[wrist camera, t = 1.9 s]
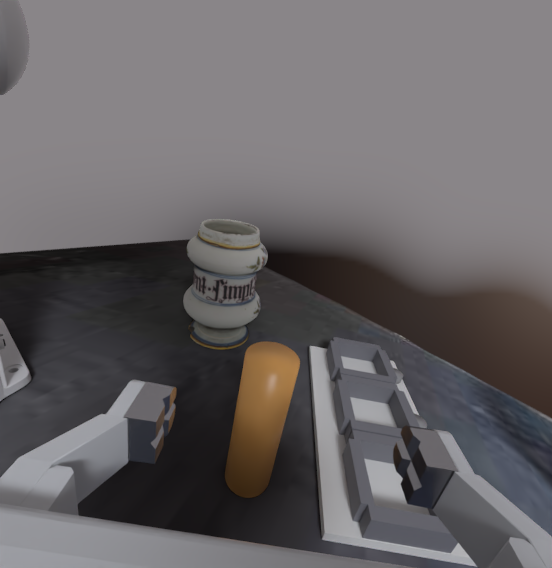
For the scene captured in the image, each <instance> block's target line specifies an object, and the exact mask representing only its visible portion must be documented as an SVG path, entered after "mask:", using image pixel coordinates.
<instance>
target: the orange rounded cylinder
mask: <svg viewBox="0 0 552 568" xmlns="http://www.w3.org/2000/svg"><path fill="white" fill-rule="evenodd" d="M299 366H300V360H299V357H298V356H297V354H296V353H295V352H294V351H293V350H291V349H290V348H288V347H287V346H285V345H282V344H279V343H275V342H258V343H255V344H253V345H251V346H250V347H249V348H248V349H247V350H246V353H245V358H244V364H243V370H242V376H241V382H240V387H239V393H238V399H237V405H236V411H235V417H234V422H233V428H232V434H231V440H230V446H229V452H228V457H227V463H226V469H225V480H226V483H227V485H228V487H229V489H230V490H231V491H232V492H233V493H235V494H236V495H238V496H241V497H245V498H252V497H256V496H258V495H260V494H261V493H263V492H264V491H265V489H266V488H267V486H268V484H269V481H270V477H271V473H272V469H273V466H274V462H275V458H276V454H277V450H278V447H279V443H280V439H281V435H282V431H283V427H284V424H285V420H286V416H287V412H288V408H289V405H290V401H291V397H292V393H293V389H294V385H295V382H296V378H297V374H298V370H299Z"/></svg>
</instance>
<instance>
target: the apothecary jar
mask: <svg viewBox="0 0 552 568" xmlns="http://www.w3.org/2000/svg"><path fill="white" fill-rule="evenodd" d="M259 235H260V232H259V229H258V228H257V227H255V226H253V225H251V224H248V223H244V222H240V221H234V220H227V219H210V220H205V221H203V222H202V223H201V225H200V230H199V232H198V234H197V235H195V236H194V237H193V238H192V239H191V240H190V241H189V242H188V245H187V255H188V257H189V258H190V260H191V261H192V262H193V263H194V277H193V285H192V286H191V287H190V288H189V289H188V290H187V291H186V293H185V295H184V298H183V304H184V308H185V310H186V312H187V313H188V314H189V315H190V316H191V317H192V318H193V319H194V320H193V321H192V322H191V324H190V325H189V328H188V329H189V330H190V332H191V335H190V337H191V338H192V339H193V340H194V341H195V342H196V343H198V344H199V345H202V346H204V347H207V348H211V349H219V350H224V349H231V348H235V347H238V346H240V345H242V344H243V343H244V342H246V340H247V339H248V336H249V331H248V328H247V326H246V325H245V324H247V323H249V322H250V321H252V320H253V319H254V318H256V317H257V315H258V314H259V311H260V308H261V302H260V298H259V296H258V294H257V293H256V292H255V285H256V276H257V271H258V270H260V269H261V268H262V267H263V266H264V265H265V264H266V262H267V258H268V255H267V251H266V249H265V247H264V246H263V245H262V244H261V243H260V239H259Z"/></svg>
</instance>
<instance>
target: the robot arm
mask: <svg viewBox="0 0 552 568" xmlns="http://www.w3.org/2000/svg"><path fill="white" fill-rule="evenodd" d="M28 55H29V36H28V29H27V25H26V21H25V18H24V14H23V12H22V9H21V7H20V4H19V1H18V0H0V95H3V94H5V93H6V92H8V91H9V90H10V89H12V88H13V87H14V86H15V85H16V84H17V82H18V81H19V79H20V78H21V77H22V75H23V73H24V71H25V68H26V65H27V61H28ZM30 381H31V375H30V372H29V370H28V368H27V366H26V364H25V362H24V360H23V358H22V356H21V354H20V352H19V350H18V348H17V346H16V345H15V343H14V341H13V339H12V337H11V335H10V333H9V331H8V329H7V327H6V325H5V323H4V321H3V320H2V319H1V318H0V401H1V400H2V399H4V398H5V397H7V396H9V395H10V394H12V393H14V392H16V391H17V390H19V389H21V388H22V387H24V386H25V385H27V384H28V383H29V382H30ZM175 397H176V388H175V387H172V386H166V385H161V384H156V383H151V382H143V381H138V380H132V381H130V382H129V383H128V384H127V386H126V387H125V389H124V390H123V391H122V393H121V394H120V396H119V397H118V398H117V400H116V401H115V402H114V404H113V405H112V407H111V408H110V409H109V411H108V412H107V413H106V415H105V414H100V415H98V416H96V417H95V418H93V419H91V420H89V421H87V422H85V423H83V424H81V425H79V426H78V427H76V428H74V429H72V430H70V431H68V432H66V433H64V434H62V435H61V436H59V437H57V438H55V439H53V440H51V441H49V442H47V443H45V444H44V445H42V446H40V447H38V448H36V449H34V450H32V451H30V452H28V453H27V454H25V455H23V456H21V457H19V458H18V459H17V460H16V461H15V462H14V463H13V465H12V466H11V467H10V468H9V469H8V470H7V471H6V472H5V473H4V474H3V476H2V477H1V478H0V568H414V567H407V566H401V565H394V564H388V563H381V562H375V561H368V560H362V559H355V558H349V557H342V556H336V555H329V554H323V553H316V552H310V551H303V550H297V549H290V548H284V547H278V546H271V545H265V544H258V543H252V542H246V541H239V540H233V539H226V538H220V537H213V536H207V535H200V534H194V533H187V532H181V531H175V530H168V529H162V528H155V527H149V526H142V525H136V524H129V523H123V522H116V521H110V520H104V519H97V518H91V517H84V516H79V515H78V506H77V504H78V503H79V502H81V501H82V500H83V499H84V498H85V497H87V496H88V495H89V494H90V493H92V492H93V491H94V490H95V489H96V488H98V487H99V486H100V485H101V484H102V483H104V482H105V481H106V480H107V479H108V478H110V477H111V476H112V475H113V474H115V473H116V472H117V471H118V470H119V469H121V468H122V467H123V466H124V465H125V464H127V463H128V461H136V462H144V463H152V464H155V463H156V461H157V458H158V456H159V454H160V452H161V449H162V447H163V438H164V437H165V436H167V435H168V434H169V431H170V429H171V426H172V423H173V420H174V415H175V407H176V406H175V404H174V403H173V402H174V400H175ZM400 434H401V436H402V439H400V440H399V441H397V442H396V444H395V447H394V449H393V461H394V466H395V469H396V472H397V473H398V474H399V475H400V476H401V477H402V478H403V479H402V482H401V487H402V490H403V493H404V496H405V499H406V502H407V504H409V505H414V506H419V507H425V508H430V509H433V512H434V513H435V514H436V515H437V517H438V518H439V519H440V520H441V522H442V523H443V524H444V525H445V527H446V528H447V529H448V530H449V532H450V533H451V534H452V535H453V537H454V538H455V539H456V540H457V542H458V543H459V544H460V545H461V547H462V548H463V549H464V550H465V552H466V553H467V554H468V555H469V557H470V558H471V559H472V560H473V562H474V563H475V564H476V565H477V567H478V568H552V537H551V536H550V535H549V534H548V533H547V532H545V531H544V530H543V529H542V528H541V527H540V526H538V525H537V524H536V523H535V522H534V521H532V520H531V519H530V518H529V517H528V516H527V515H525V514H524V513H523V512H522V511H521V510H520V509H518V508H517V507H516V506H515V505H514V504H512V503H511V502H510V501H509V500H508V499H507V498H505V497H504V496H503V495H502V494H501V493H500V492H498V491H497V490H496V489H495V488H494V487H492V486H491V485H490V484H489V483H488V482H487V481H485V480H484V479H483V478H482V477H481V476H479V475H475V474H474V472H473V470H472V469H471V467H470V465H469V464H468V462H467V460H466V458H465V457H464V455H463V453H462V452H461V450H460V448H459V446H458V445H457V443H456V441H455V440H454V438H453V436H452V435H451V434H450V433H449V432H447V431H440V430H432V429H426V428H420V427H414V426H407V425H405V426H404V427H403V428H402V430H401V433H400Z"/></svg>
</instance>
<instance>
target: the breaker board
mask: <svg viewBox="0 0 552 568" xmlns="http://www.w3.org/2000/svg"><path fill="white" fill-rule="evenodd" d="M309 363H310V378H311V392H312V406H313V420H314V435H315V449H316V463H317V478H318V492H319V506H320V520H321V535H322V540H326V541H332V542H338V543H344V544H349V545H355V546H361V547H367V548H372V549H378V550H384V551H390V552H395V553H401V554H407V555H413V556H418V557H424V558H430V559H436V560H442V561H447V562H453V563H459V564H465V565H470V566H476V567H477V565H476V564H475V563H474V562H473V560H472V559H471V558H470V557H469V555H468V554H467V553H466V552H465V550H464V549H463V548H462V547H461V545H460V544H459V543H458V542H457V540H456V539H455V538H454V537H453V535H452V534H451V533H450V532H449V530H448V529H447V528H446V527H445V525H444V524H443V523H442V522H441V520H440V519H439V518H438V517H437V515H436V514H435V513H434V512H433V509H430V508H425V507H419V506H414V505H409V504H407V502H406V499H405V496H404V493H403V490H402V487H401V482H402V479H403V478H402V477H401V476H400V475H399V474H398V473H397V472H396V469H395V466H394V461H393V449H394V447H395V444H396V442H397V441H399V440H400V439H402V436H401V434H400V433H401V430H402V428H403V427H404V426H405V425H407V426H414V427H420V428H426V427H427V423H426V421H425V420H424V419H423V418H422V417H421V416H419V414H418V412H417V410H416V408H415V405H414V403H413V401H412V399H411V397H410V395H409V393H408V391H407V389H406V386H405V384H404V382H403V380H402V378H403V374H402V373H401V372H400V371H399V370H398V369H397V367H396V365H395V363H394V361H390V360H389V358H388V356H387V354H386V352H385V351H384V350H381V348H380V346H379V345H374V344H368V343H363V342H358V341H352V340H347V339H342V338H336V337H333V339H332V341H331V340H330V343H329V346H328V349H325V348H319V347H314V346H310V348H309Z"/></svg>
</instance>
